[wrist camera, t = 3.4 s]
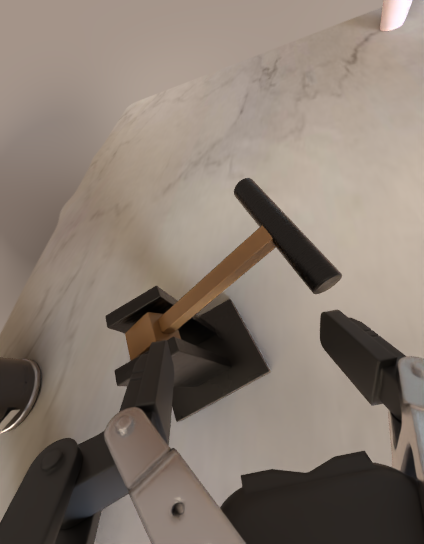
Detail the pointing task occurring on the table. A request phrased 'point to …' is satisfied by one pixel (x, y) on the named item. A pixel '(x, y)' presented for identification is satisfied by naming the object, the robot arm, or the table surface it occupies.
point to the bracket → (197, 352)
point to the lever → (240, 268)
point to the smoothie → (394, 14)
